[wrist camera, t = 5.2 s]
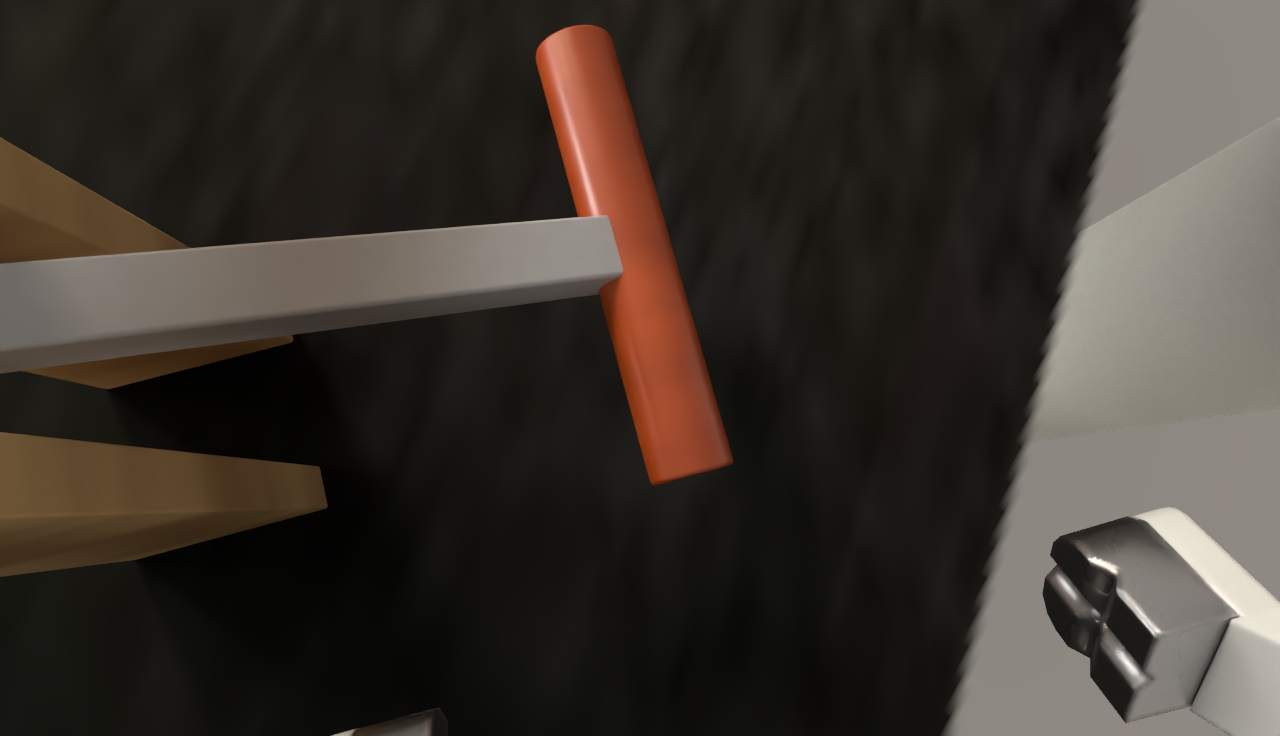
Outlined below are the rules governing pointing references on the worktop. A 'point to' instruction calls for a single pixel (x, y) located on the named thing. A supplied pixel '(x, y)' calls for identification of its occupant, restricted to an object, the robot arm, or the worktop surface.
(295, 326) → the lever
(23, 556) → the bracket
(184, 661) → the worktop surface
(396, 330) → the worktop surface
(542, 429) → the worktop surface
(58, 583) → the worktop surface
